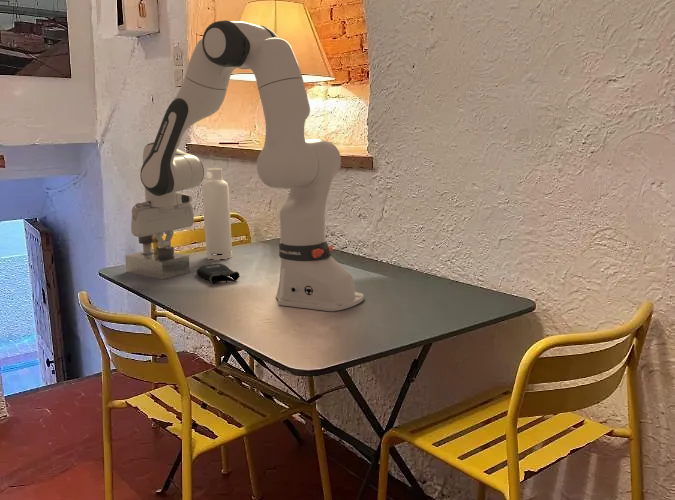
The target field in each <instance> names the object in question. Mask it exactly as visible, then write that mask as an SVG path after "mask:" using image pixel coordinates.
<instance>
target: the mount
mask: <svg viewBox="0 0 675 500" xmlns="http://www.w3.org/2000/svg"><path fill="white" fill-rule="evenodd" d="M125 268H126V269H125V270H126V273H129V274H134V275H138V276H144V277H150V278H154V279H159V280H167V279H170V278H173V277H177V276H180V275H184V274H188V273H190V272H191V269H190V268H191V266H190V254H183V253H179V252H178V253H177V252H174V257H172V258H167V259H162V258H158V255H154V248H152V254H151V255H144V251H143V250H142V251H138V252H134V253H129V254H127V255H126V254H125Z"/></svg>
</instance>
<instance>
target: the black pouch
mask: <svg viewBox="0 0 675 500" xmlns="http://www.w3.org/2000/svg"><path fill="white" fill-rule="evenodd" d="M196 273H197V275H198V277H199V278H200V279H202V280H204V281H207V282H208V281H209V282H208V283H211V285H212V284H213V283H214V282H213V280H212V279H213V278H214V277H213V276H215V277H219V276H225V277H226V276H230V277H232V278H233V279H234V280H236V281H238V279H239V278H240V273H239V272H238V271H233V270H232V269H230V267H228V266H227V265H225V264H223V263H211V264H205V265H201V266H199V267H198V268H197V269H196ZM226 283H228V282H227V281H226ZM213 285H214V284H213Z"/></svg>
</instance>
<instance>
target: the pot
mask: <svg viewBox="0 0 675 500" xmlns="http://www.w3.org/2000/svg"><path fill="white" fill-rule="evenodd" d="M152 240H153V243H152V245H153V249H154V255H158V251H157V248H159V242H158V240H157V239H156V237H155V236H152Z"/></svg>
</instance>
